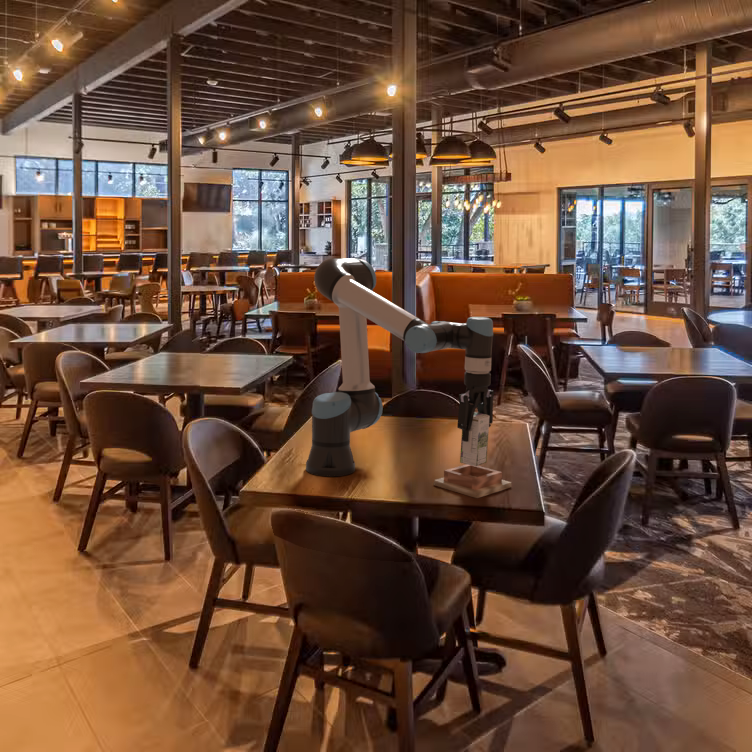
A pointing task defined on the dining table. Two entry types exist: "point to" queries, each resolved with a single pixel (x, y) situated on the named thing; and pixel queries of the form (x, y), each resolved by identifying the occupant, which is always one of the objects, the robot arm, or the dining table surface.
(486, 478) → the socket board
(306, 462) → the robot arm
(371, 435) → the dining table surface
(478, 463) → the syrup box
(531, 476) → the dining table surface
